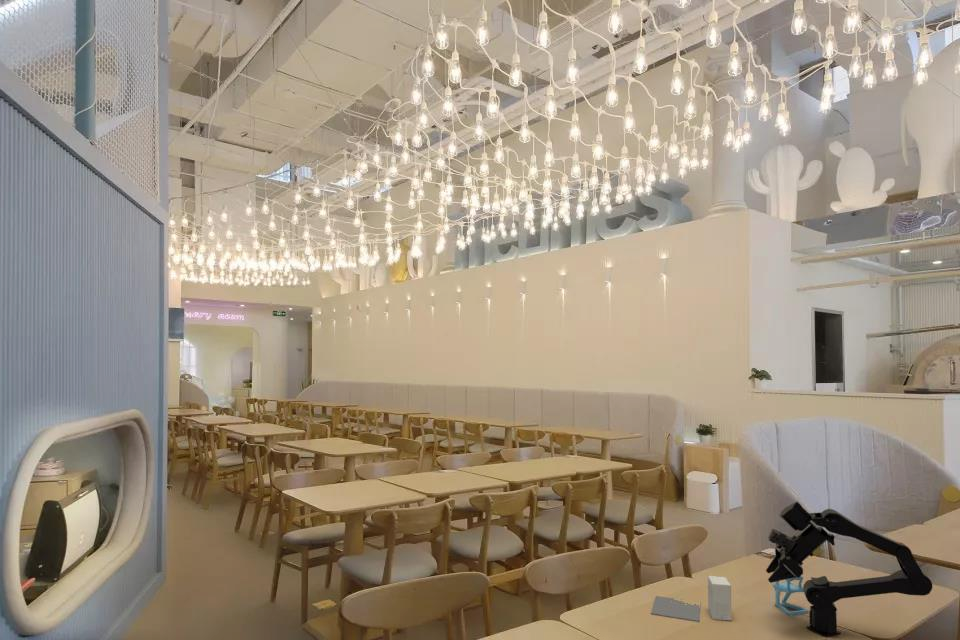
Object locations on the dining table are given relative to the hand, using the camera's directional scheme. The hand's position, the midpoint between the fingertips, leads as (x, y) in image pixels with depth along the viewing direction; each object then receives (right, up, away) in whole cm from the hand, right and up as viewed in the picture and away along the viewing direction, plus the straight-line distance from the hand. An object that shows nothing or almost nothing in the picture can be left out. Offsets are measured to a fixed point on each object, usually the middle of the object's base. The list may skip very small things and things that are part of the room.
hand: (768, 576), depth 187 cm
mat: (-25, -14, +8) cm, 30 cm away
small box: (-13, -14, +4) cm, 19 cm away
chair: (+11, -15, +10) cm, 21 cm away
